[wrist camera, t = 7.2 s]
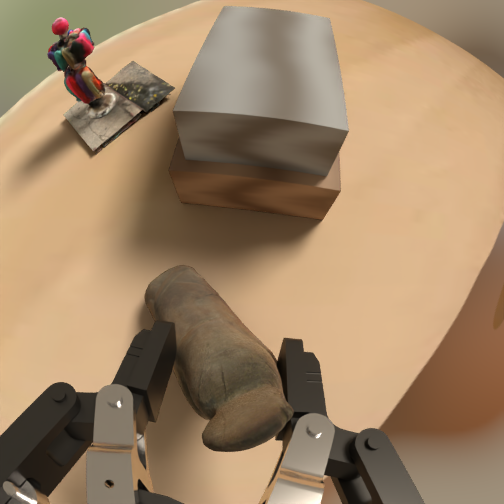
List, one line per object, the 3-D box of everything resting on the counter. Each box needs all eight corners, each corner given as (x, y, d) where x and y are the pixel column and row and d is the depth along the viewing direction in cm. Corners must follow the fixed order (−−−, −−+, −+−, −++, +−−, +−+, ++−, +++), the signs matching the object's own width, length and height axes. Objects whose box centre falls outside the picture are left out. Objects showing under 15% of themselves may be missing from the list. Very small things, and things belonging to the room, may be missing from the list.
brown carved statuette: (266, 372, 22) (396, 481, 6) (214, 404, 20) (264, 563, 5) (194, 256, 22) (205, 159, 6) (138, 288, 21) (19, 271, 5)
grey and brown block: (181, 202, 24) (151, 123, 14) (219, 72, 29) (215, 2, 20) (322, 219, 24) (366, 147, 14) (320, 84, 29) (338, 17, 20)
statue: (101, 160, 27) (20, 71, 12) (71, 123, 28) (7, 49, 14) (177, 94, 28) (138, -14, 13) (136, 68, 30) (96, -19, 15)
